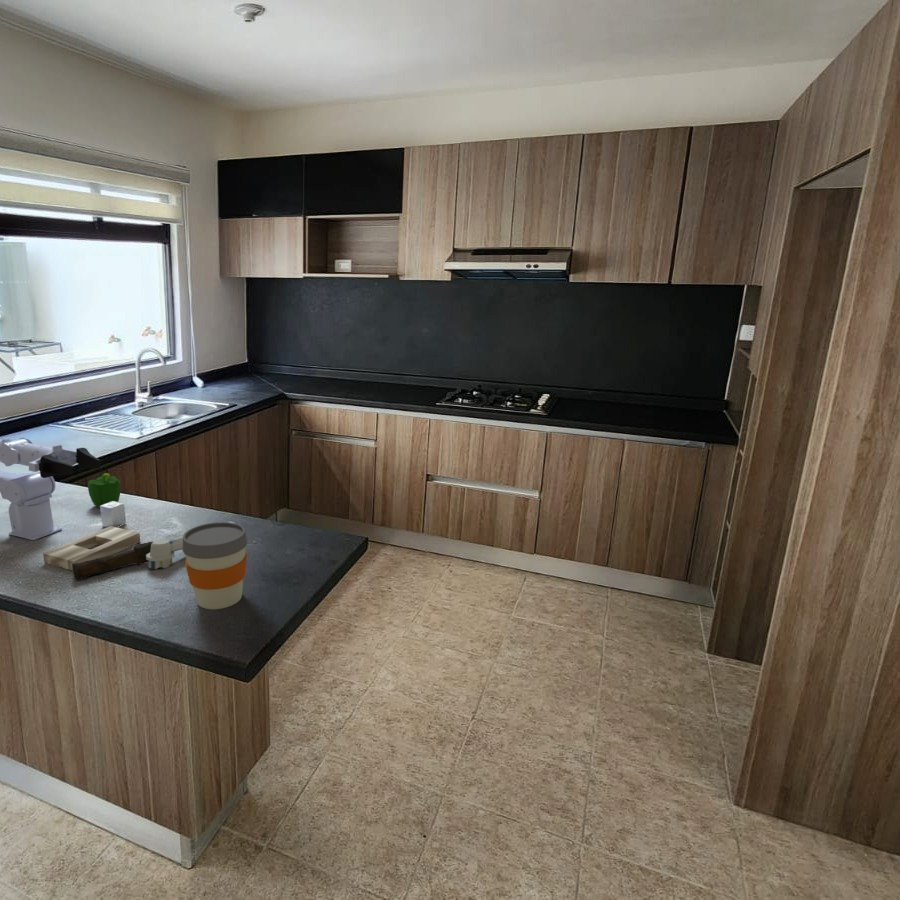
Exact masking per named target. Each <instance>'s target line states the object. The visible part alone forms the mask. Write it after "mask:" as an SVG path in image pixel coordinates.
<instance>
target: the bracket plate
mask: <svg viewBox="0 0 900 900" xmlns="http://www.w3.org/2000/svg"><path fill="white" fill-rule="evenodd" d="M140 534H141V533H140V532H139V531H134V530H131V529H130V530H129V529H126V528H120V527H112V526H110V527H104V528H103V529H100V530H98V531H95V532H93V533H90V534H88V535H86V536H83V537H79V538H78V539H75V540H72V541H70V542H68V543H65V544H63V545H61V546H58V547H56V548H54V549H50V550H48V551H46V552H44V553H42V554H43V560H44V564H46V563H47V565H50V564H51V566H54V567H57V566H58V568H61V567H62V569H65V570H68V569H69V571H72V572H73V568H72V564H73V563H82V562H85V561H90V560H94V559H97V558H103V557H106V556H110V555H114V553H115V554H117V553H120V552H121V551H123V550H125V548H126V549H128V548H130V547H132V546H135V545H137V544H140V543H141V542H140V541H141V535H140ZM136 543H137V544H136ZM95 545H96V547H95ZM99 545H100V546H99ZM129 546H130V547H129ZM127 547H128V548H127ZM88 548H89V549H88ZM116 552H117V553H116Z"/></svg>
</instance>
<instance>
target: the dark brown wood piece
mask: <svg viewBox="0 0 900 900" xmlns="http://www.w3.org/2000/svg"><path fill="white" fill-rule="evenodd" d="M154 541H155V540H154ZM154 541H152V540H151V541H148V542H143V543H138V544H135V545H133V548H131V549H130V550H125V551H122V552H117V553H115V554H112V555H110V556H106V557H103V558H97V559H94V560H90V561H85V562H82V563H73V564H72V568H73V571H72V574H73V576H74V578H75V581H77V582H78V581H80V580H81V579H87V578H88V577H90V576H91V577H92V576H95V575H97V574H102V573H105V572H109V571H113V570H116V569H120V568H122V567H126V566H131V565H135V564H137V565H143V564H148V560H146V555H147V554H148V553H150V550H151V544H152V543H153V542H154Z"/></svg>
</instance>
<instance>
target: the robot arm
mask: <svg viewBox="0 0 900 900" xmlns="http://www.w3.org/2000/svg"><path fill="white" fill-rule="evenodd" d="M75 450H76V451H73V450H68V449H63V445H61V444H55V445H52V447H49V446H44V445H42V444H41V445H40V444H35V443H33V442H32V441H31V440H30V439H28V438H25V437H20V438H18V439H15V440H14V439H13V440H12V439H10V438H8V437H6V438H2V439H1V438H0V462H1V463H2V464H4V465H5V467H11V466H13V465H20V466H26V467H28V471H29V472H28V473H14V472H9V471H3V470H0V496H1V497H2V499H3V500H7V501H9V502H10V505H9V507H8V516H9V520H10V521H9V522H10V527H11V531H9V532H8V535H11V536H15V537H20V538H23V539H26V540H31V541H34V540H39V539H41V538H43V537H46V536H50V535H51V534H55V533H57V532H59V531H62V530H63V527H60V526H56V525H54V519H53V512H52V507H51V501H50V498H52V497H53V496H52V494H54V492H55V490H56V481H55V479H54V476H70V475H74V466H75V465H78V466H77V467H78V469H77V470H78V471H81V470H84V469H100V468H101V467H102V466H101V459H99V458H97V457H96V456H94V455H92V453H90V452H89V450H88V448H86V447H78V448H76V449H75Z"/></svg>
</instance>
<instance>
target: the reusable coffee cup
mask: <svg viewBox="0 0 900 900" xmlns="http://www.w3.org/2000/svg"><path fill="white" fill-rule="evenodd" d="M182 536H183V549H182V553H183V554H184V555H185V561H184V562H185V563H184V564H185V565H184V566H185V569H186V573H187V575H188V576H187V577H188V580H189V581H188V582H189V583H190V585H191V586H192V588H193V591H194V595H195V600H196V604H197V605H198V607H200V608H203V609H206V610H220V609H225V608H228V607H231V606H233V605H235V604H237V603H238V602H240V600H241V599H242V597H243V585H244V584H243V583H244V578H245V577H246V572H247V571H246V570H247V558H248V554H247V552H246V546H247V544H248V538H247V535H246V528H245V527H244V526H243V525H241V524H239V523H237V524H236V523H230V521H219V522H218V521H217V522H216V521H215V522H211V523H204V524H200V525H197V526H194V527H192V528H189V529H188V530H187V531H186V532H184V534H183V535H182Z"/></svg>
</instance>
